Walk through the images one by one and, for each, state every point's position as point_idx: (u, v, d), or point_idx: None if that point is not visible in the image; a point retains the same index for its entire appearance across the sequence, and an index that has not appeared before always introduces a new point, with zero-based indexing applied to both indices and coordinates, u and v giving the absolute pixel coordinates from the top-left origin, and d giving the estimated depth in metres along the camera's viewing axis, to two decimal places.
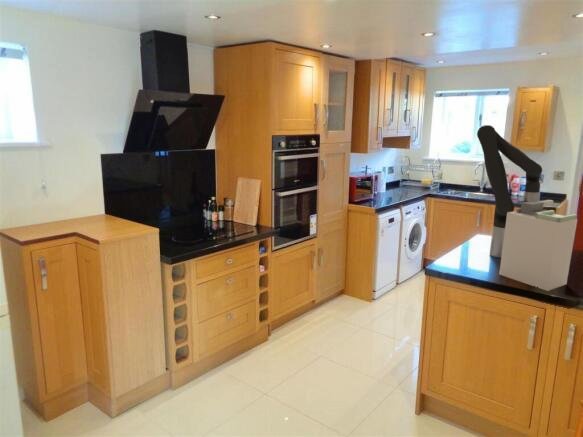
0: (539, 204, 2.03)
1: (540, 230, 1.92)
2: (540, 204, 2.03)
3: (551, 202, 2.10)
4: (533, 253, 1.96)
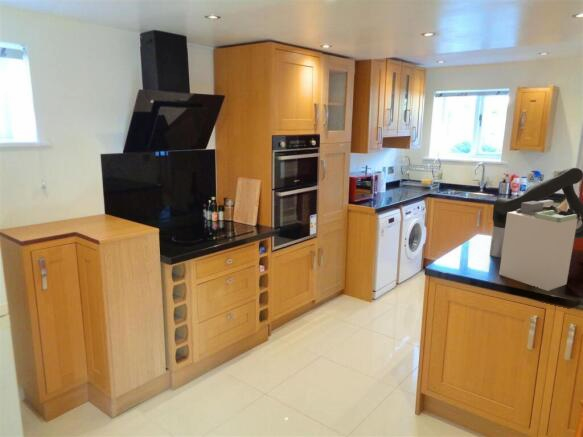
0: (539, 204, 2.03)
1: (540, 230, 1.92)
2: (540, 204, 2.03)
3: (551, 202, 2.10)
4: (533, 253, 1.96)
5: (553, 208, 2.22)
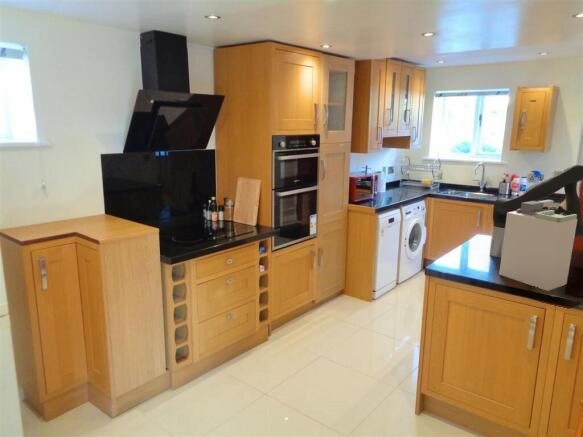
0: (539, 204, 2.03)
1: (540, 230, 1.92)
2: (540, 204, 2.03)
3: (551, 202, 2.10)
4: (533, 253, 1.96)
5: None
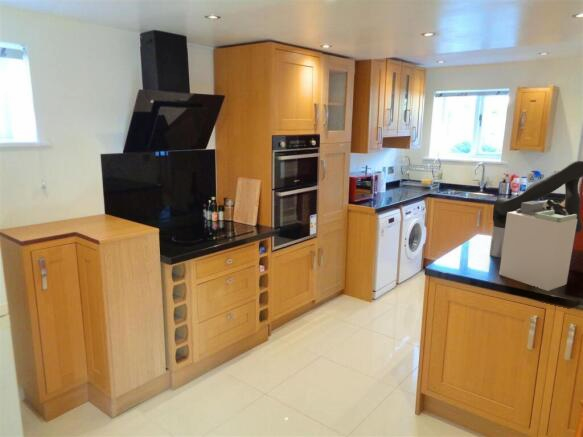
0: (539, 204, 2.03)
1: (540, 230, 1.92)
2: (540, 204, 2.03)
3: None
4: (533, 253, 1.96)
5: None
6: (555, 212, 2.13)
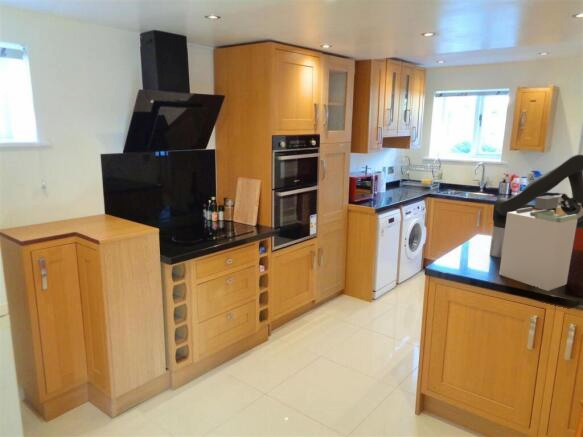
0: (554, 199, 1.97)
1: (540, 230, 1.92)
2: (555, 199, 1.97)
3: None
4: (533, 253, 1.96)
5: None
6: (569, 207, 2.07)
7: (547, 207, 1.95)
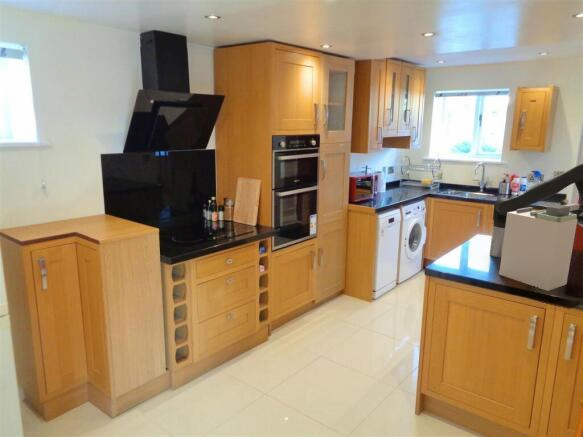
0: (565, 208, 1.93)
1: (540, 230, 1.92)
2: (566, 208, 1.93)
3: (577, 206, 2.00)
4: (533, 253, 1.96)
5: (564, 204, 2.04)
6: (581, 215, 2.03)
7: None
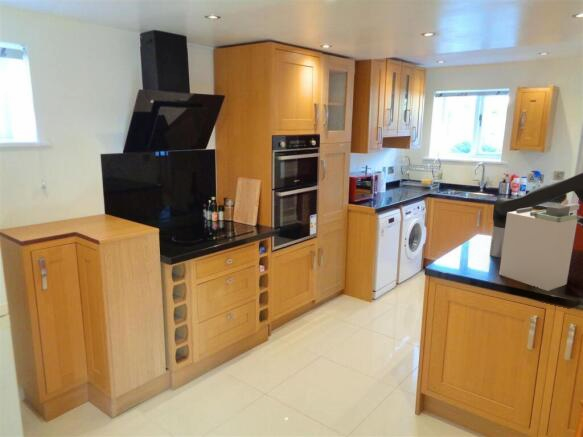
0: (565, 208, 1.93)
1: (540, 230, 1.92)
2: (566, 208, 1.93)
3: (577, 206, 2.00)
4: (533, 253, 1.96)
5: None
6: None
7: None
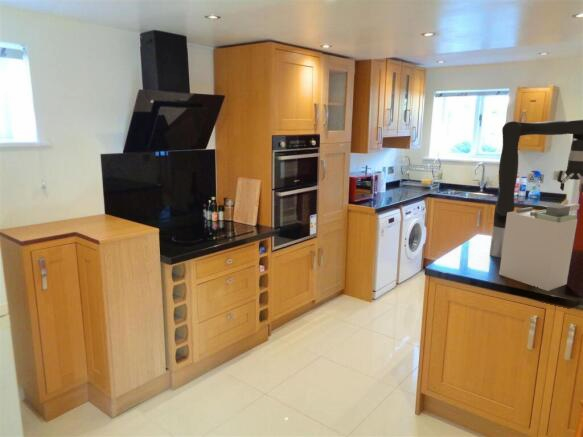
0: (565, 208, 1.93)
1: (540, 230, 1.92)
2: (566, 208, 1.93)
3: (577, 206, 2.00)
4: (533, 253, 1.96)
5: (563, 186, 2.20)
6: None
7: None
